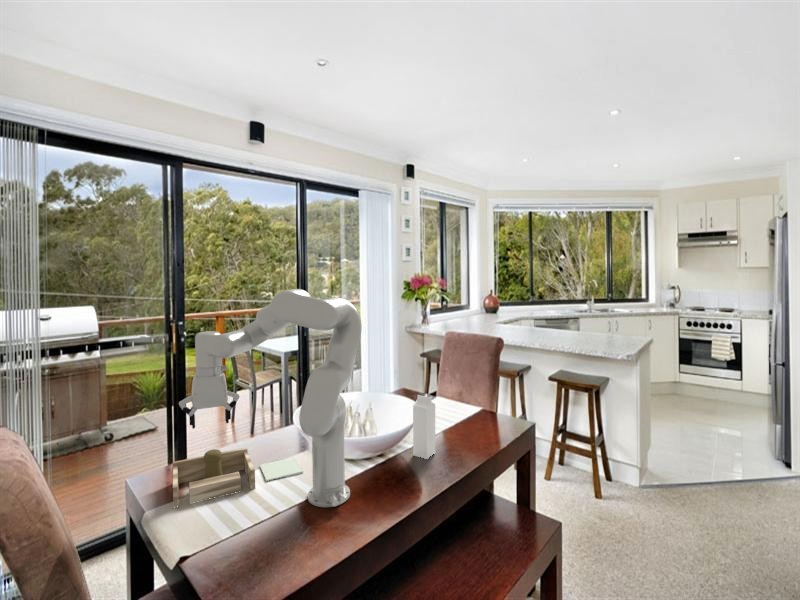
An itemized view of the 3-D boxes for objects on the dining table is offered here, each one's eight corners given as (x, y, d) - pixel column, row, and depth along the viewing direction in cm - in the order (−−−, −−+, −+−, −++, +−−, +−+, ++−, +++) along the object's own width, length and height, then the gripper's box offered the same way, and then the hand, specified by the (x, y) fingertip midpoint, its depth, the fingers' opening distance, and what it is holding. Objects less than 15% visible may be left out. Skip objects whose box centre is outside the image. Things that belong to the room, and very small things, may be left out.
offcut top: (240, 485, 127) (240, 477, 126) (189, 497, 120) (189, 488, 120) (238, 479, 130) (238, 471, 130) (189, 490, 123) (189, 482, 123)
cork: (216, 490, 127) (215, 456, 127) (199, 488, 129) (197, 454, 128) (228, 480, 133) (227, 447, 132) (211, 478, 134) (210, 446, 134)
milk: (422, 449, 156) (421, 392, 154) (435, 454, 152) (435, 395, 151) (412, 455, 151) (412, 396, 149) (426, 460, 147) (426, 399, 146)
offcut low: (240, 492, 127) (240, 485, 126) (190, 505, 120) (189, 497, 120) (239, 487, 130) (239, 479, 130) (189, 498, 124) (189, 490, 123)
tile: (303, 473, 138) (303, 471, 138) (266, 481, 132) (266, 480, 132) (294, 458, 149) (294, 457, 149) (259, 466, 143) (259, 464, 143)
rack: (255, 488, 128) (254, 466, 128) (173, 508, 118) (172, 484, 117) (247, 466, 143) (246, 447, 142) (174, 483, 132) (173, 461, 131)
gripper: (237, 365, 136) (238, 416, 137) (177, 371, 128) (179, 425, 129) (240, 370, 129) (241, 423, 130) (177, 377, 121) (179, 433, 122)
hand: (210, 424), depth 130 cm, fingers open, 9 cm apart
